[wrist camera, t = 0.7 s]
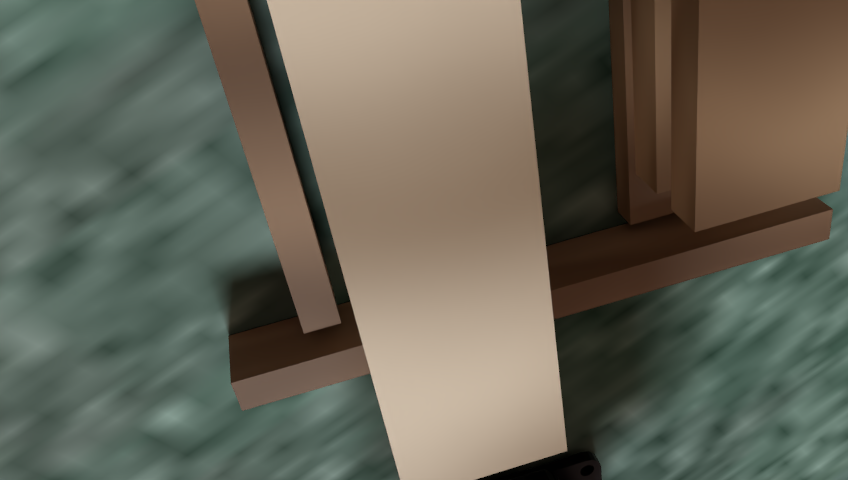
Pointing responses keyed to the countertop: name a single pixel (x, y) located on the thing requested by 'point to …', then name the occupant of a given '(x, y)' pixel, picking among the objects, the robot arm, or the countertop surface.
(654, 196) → the offcut stack
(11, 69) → the countertop surface
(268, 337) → the rack
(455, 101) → the maple panel
